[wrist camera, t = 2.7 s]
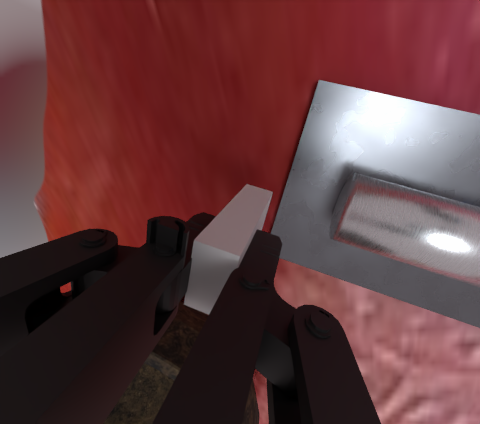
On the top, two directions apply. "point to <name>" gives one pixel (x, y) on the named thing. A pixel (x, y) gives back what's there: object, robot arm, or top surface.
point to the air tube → (409, 227)
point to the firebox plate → (383, 168)
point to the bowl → (167, 373)
